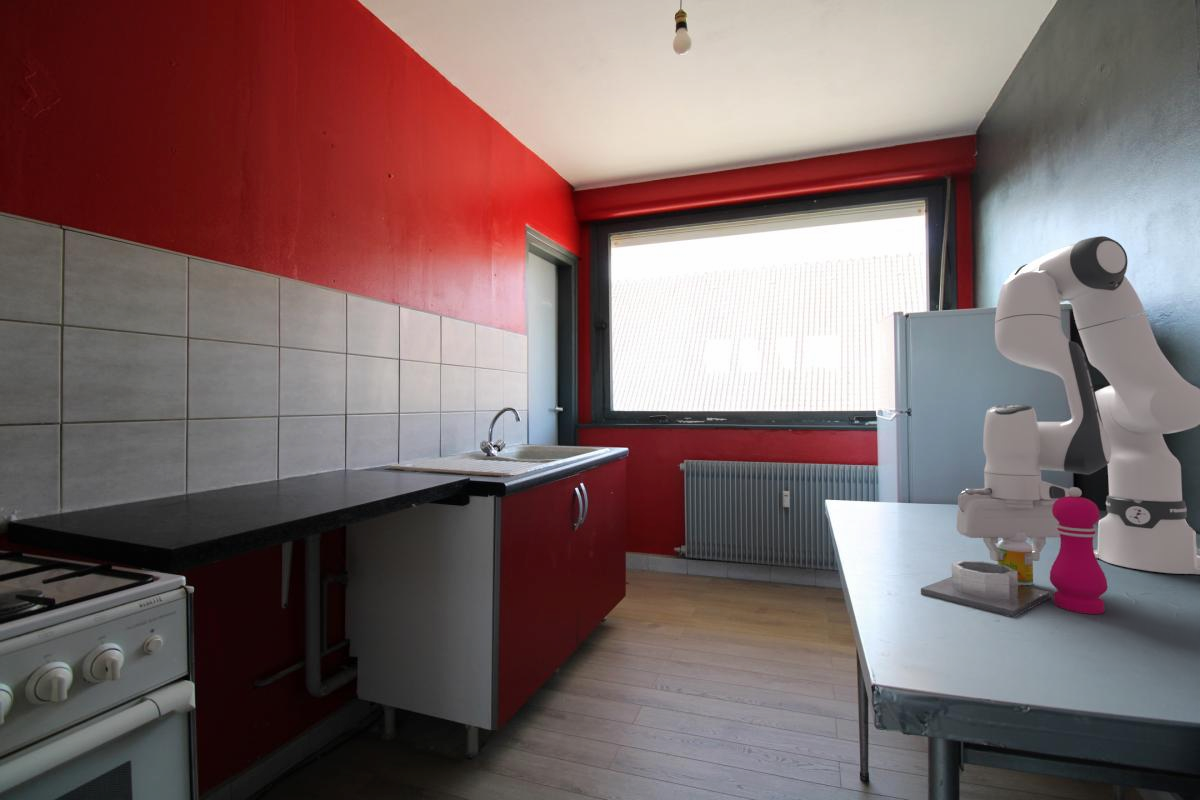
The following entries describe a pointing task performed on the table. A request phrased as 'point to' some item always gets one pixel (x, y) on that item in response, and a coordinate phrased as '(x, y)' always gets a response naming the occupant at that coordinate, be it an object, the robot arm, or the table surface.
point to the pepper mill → (1077, 556)
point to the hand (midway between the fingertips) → (1014, 560)
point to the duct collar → (986, 588)
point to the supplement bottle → (1018, 557)
